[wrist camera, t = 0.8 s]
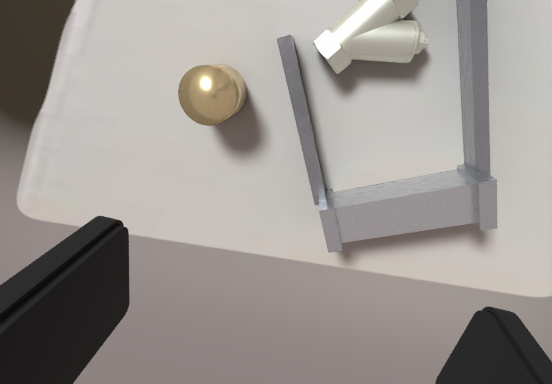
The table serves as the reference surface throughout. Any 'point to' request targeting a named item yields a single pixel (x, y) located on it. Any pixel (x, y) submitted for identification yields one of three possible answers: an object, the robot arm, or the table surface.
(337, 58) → the pipe fitting
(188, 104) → the cylinder
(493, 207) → the pipe jig
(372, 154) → the table surface
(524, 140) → the table surface
